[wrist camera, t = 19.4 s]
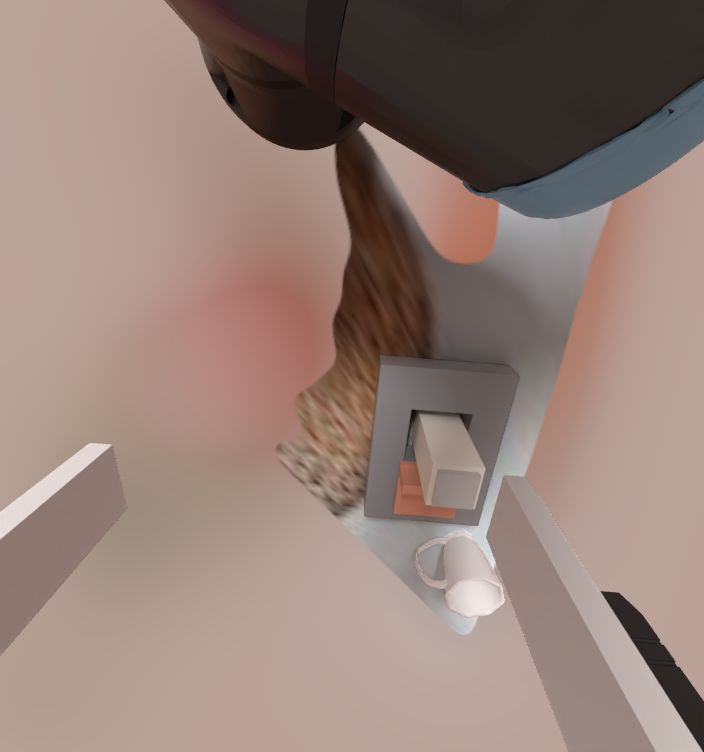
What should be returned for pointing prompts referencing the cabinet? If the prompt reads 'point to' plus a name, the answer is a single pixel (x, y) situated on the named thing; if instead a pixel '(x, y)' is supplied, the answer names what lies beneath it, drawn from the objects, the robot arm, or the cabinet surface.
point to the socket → (434, 393)
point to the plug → (446, 460)
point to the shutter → (415, 495)
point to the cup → (465, 576)
